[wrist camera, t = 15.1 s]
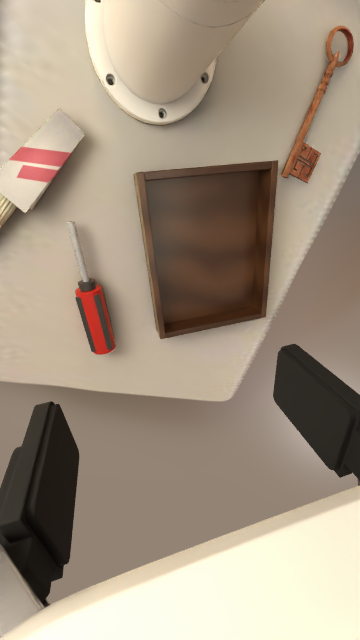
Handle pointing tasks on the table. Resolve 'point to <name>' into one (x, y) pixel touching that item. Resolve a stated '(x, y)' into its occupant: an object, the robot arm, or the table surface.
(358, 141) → the table surface
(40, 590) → the robot arm
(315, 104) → the key
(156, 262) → the wooden tray
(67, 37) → the table surface
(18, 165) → the paintbrush
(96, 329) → the screwdriver
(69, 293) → the table surface
